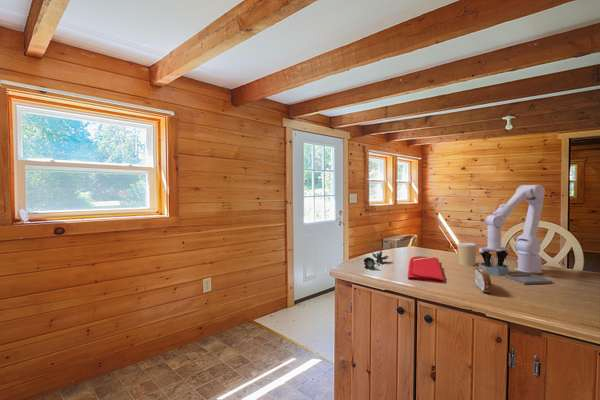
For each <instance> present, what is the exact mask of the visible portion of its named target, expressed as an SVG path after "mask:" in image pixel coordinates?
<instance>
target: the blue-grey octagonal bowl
mask: <svg viewBox="0 0 600 400" xmlns="http://www.w3.org/2000/svg"><path fill="white" fill-rule="evenodd" d="M478 268H483V269H485V270H486V271H487V272H488V273H489V275H490V276H492V275H493V276H498V277H499V276H501V277H502V276H505V275H510V274H509V273H510V265H506V264H504V263H503V265H502V267H501V266H498V262H497V268H493V267H491V261H490V267H487V266H485V262H484V261H483V262H482V261H481V262H480V263H478Z"/></svg>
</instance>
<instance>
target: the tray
mask: <svg viewBox="0 0 600 400" xmlns="http://www.w3.org/2000/svg"><path fill="white" fill-rule="evenodd" d="M504 277H505V278H507V279H509V280H513V281H515V282H518V283H521V284H523V285H524V286H538V285H539V286H540V285H545V284H547V285H552V284H553V281H552V280H551V279H548V278H546V277H542V276H539V275H536V274H532V273H516V274H513V273H512V274H508V275H504Z"/></svg>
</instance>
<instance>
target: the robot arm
mask: <svg viewBox="0 0 600 400" xmlns="http://www.w3.org/2000/svg"><path fill="white" fill-rule="evenodd" d="M545 194H546V190H545V188H544V186H543V185H542V184H520V185H519V186H518V188H516V189H515V193H514V194H513V195H512V197H511V198H510V199H509V200H508V201H507V202H506V203H503V204H500V205H498V208H497V209H496V210H494V211H493V212H492V214H489V215H487V216H486V218H485V220H484V224H485V225H486V229H487V242H486V243H487V246H485V247H479V249H478V251H479V254H480V256H481V257H482V260H483V262H485V266H487V267H490V262H491V256H493V254H492V253H496V257H497V263H498V266H501V267H502V265H503V264H504V262H505V260H506V259H507V256H509V252H510V249H509V247H506V246H505V247H504V246H502V227H503V226H504V225H505V223H506V220H507V218H508V217H510V215H511V214H512V213H514V208H515V207H516V206H517V205H518V204H520V203H521V202H522V201H523V200H525V201H526V202H527V204H528V209H527V214H526V218H525V222H524V226H523V230H522V233H521V234H520V235H518V236H517V239H516V241H515V242H514V246H513V247H514V249H515V251H516V253H517V267H515V268H514V267H513V269H514V270H517V271H520V272H523V273H525V274H530V273H535V274H539V273H540V274H542V273H544V272H543V271H542V265H543V264H542V262H543V261H542V257H541V255H539V253H540V252H541V240H540V239H539V238H538V237H537V233H538V228H539V225H540V219H541V216H542V211H543V206H544V200H545V199H544V198H545Z"/></svg>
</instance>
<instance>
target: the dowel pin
mask: <svg viewBox="0 0 600 400" xmlns="http://www.w3.org/2000/svg"><path fill="white" fill-rule="evenodd" d="M490 262H491V267H493V268H497V263H498V259H497V256H493V255H492V256H491V259H490Z"/></svg>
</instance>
